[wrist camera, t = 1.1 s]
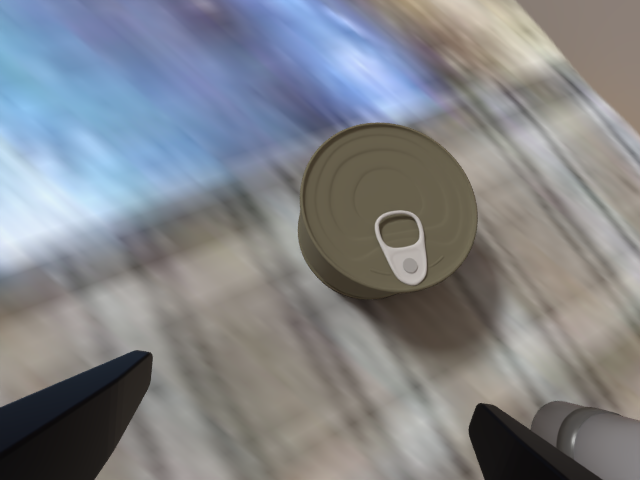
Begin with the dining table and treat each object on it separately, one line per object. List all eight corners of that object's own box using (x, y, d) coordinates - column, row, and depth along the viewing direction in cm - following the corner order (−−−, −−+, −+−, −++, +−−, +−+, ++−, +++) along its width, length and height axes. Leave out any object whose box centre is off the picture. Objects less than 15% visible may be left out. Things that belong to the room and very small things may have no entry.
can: (409, 163, 29) (446, 115, 22) (447, 287, 26) (503, 273, 19) (284, 178, 27) (285, 129, 20) (309, 315, 24) (320, 310, 17)
